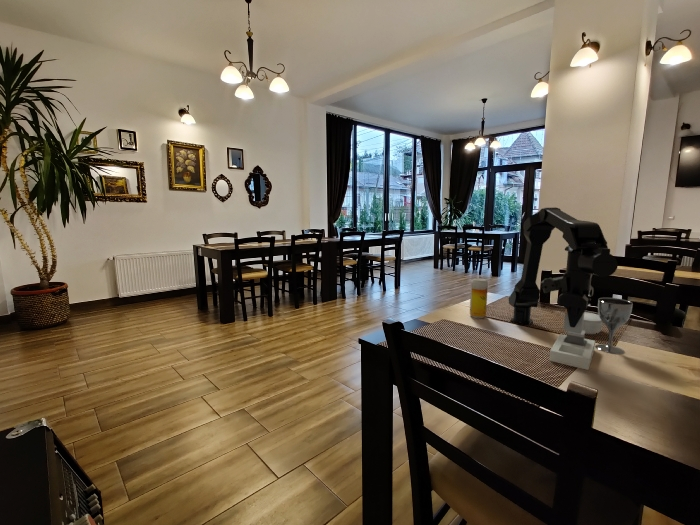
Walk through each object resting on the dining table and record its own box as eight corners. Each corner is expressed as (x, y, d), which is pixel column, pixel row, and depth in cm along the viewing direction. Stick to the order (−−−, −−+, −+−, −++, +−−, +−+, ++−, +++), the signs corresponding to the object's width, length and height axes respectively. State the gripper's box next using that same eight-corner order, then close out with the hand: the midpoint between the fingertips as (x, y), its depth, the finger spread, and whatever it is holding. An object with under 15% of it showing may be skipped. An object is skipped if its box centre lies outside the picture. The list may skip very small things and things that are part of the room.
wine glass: (619, 345, 103) (625, 298, 101) (631, 356, 96) (638, 305, 93) (589, 342, 106) (594, 296, 103) (598, 352, 98) (604, 303, 96)
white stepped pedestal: (559, 343, 106) (560, 324, 105) (594, 350, 100) (596, 330, 99) (549, 360, 94) (551, 339, 93) (588, 370, 88) (590, 348, 87)
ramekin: (579, 323, 124) (581, 309, 123) (611, 333, 114) (613, 318, 113) (557, 326, 121) (558, 312, 120) (587, 337, 110) (588, 322, 109)
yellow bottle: (487, 319, 129) (489, 281, 127) (470, 318, 131) (472, 280, 128) (484, 314, 135) (486, 278, 133) (468, 313, 136) (470, 277, 134)
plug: (565, 326, 95) (567, 306, 94) (582, 329, 93) (584, 308, 92) (563, 330, 92) (565, 309, 91) (580, 333, 90) (583, 312, 89)
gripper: (551, 262, 102) (547, 311, 105) (537, 271, 88) (533, 327, 90) (596, 265, 95) (590, 318, 97) (589, 276, 81) (582, 337, 83)
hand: (573, 324), depth 92 cm, fingers closed on plug, 4 cm apart
